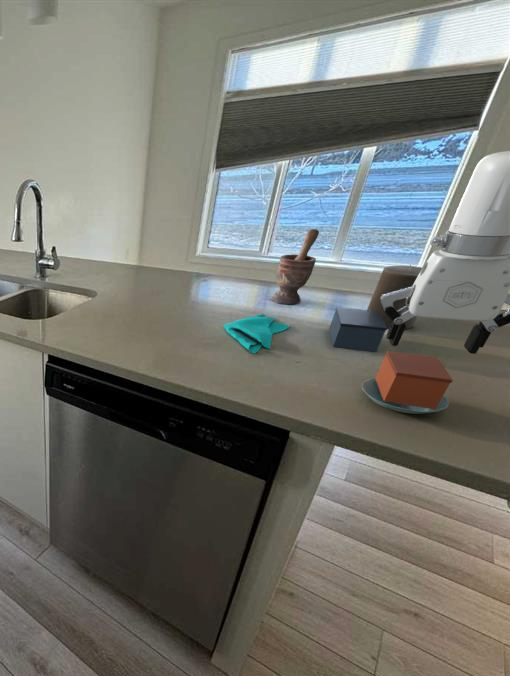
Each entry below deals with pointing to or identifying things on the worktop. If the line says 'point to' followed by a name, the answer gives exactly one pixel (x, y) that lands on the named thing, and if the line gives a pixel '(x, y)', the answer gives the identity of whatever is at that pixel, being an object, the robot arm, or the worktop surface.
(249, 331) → the cloth
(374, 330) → the bottom container
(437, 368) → the container
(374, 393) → the saucer
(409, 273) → the pillar candle
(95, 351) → the worktop surface
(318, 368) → the worktop surface
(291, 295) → the mortar and pestle
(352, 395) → the worktop surface
